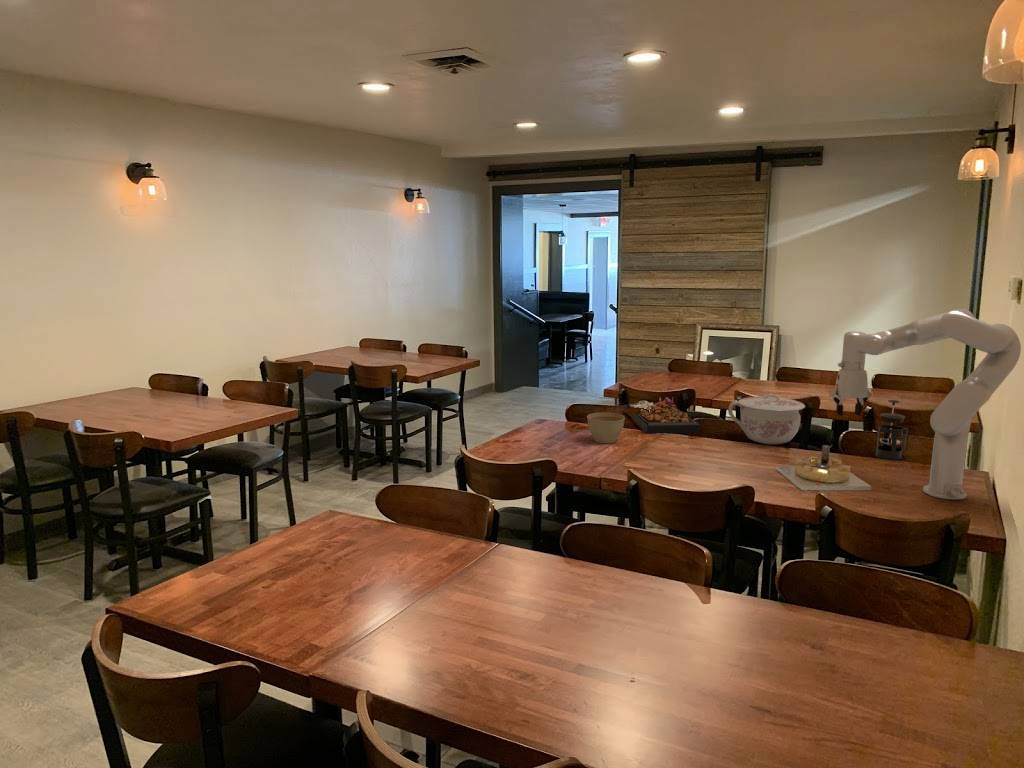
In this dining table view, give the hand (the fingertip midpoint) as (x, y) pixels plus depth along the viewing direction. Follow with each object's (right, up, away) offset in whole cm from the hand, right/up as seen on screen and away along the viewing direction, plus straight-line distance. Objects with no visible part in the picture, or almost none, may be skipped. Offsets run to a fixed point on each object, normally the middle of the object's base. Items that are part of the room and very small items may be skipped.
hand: (848, 414), depth 262 cm
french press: (+29, -18, +26) cm, 43 cm away
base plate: (-11, -23, -2) cm, 26 cm away
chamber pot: (-11, -14, +51) cm, 54 cm away
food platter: (-52, -8, +85) cm, 100 cm away
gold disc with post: (-11, -22, -3) cm, 25 cm away
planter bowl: (-82, -14, +50) cm, 97 cm away
